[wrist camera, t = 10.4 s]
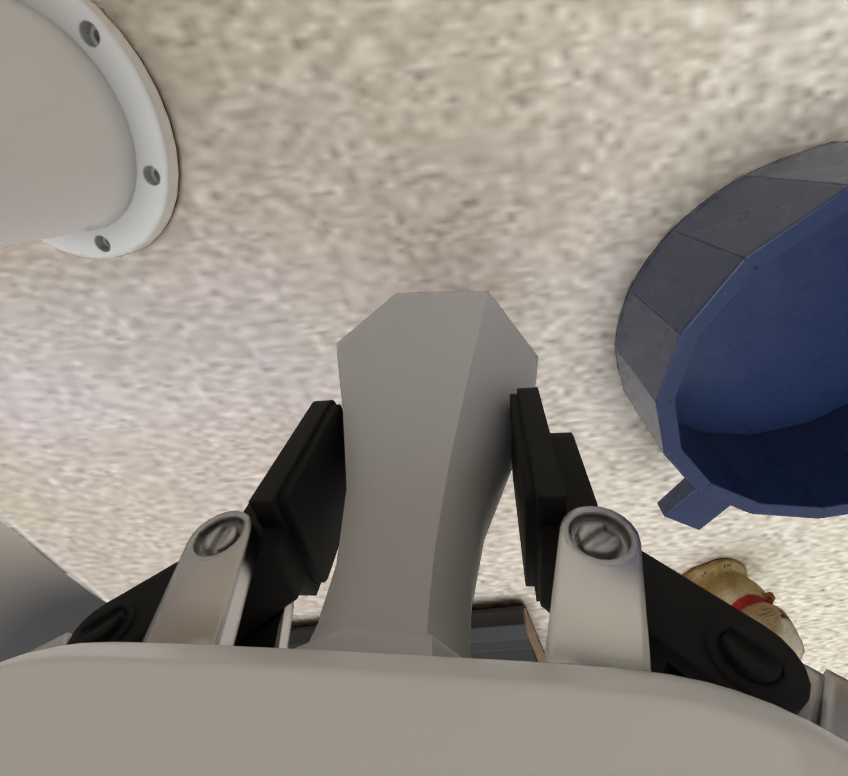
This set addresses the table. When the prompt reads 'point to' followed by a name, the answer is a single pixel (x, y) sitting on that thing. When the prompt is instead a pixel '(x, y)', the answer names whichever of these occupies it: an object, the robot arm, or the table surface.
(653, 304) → the pot
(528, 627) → the file folder
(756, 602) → the chocolate bunny
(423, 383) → the flask
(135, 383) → the table surface
